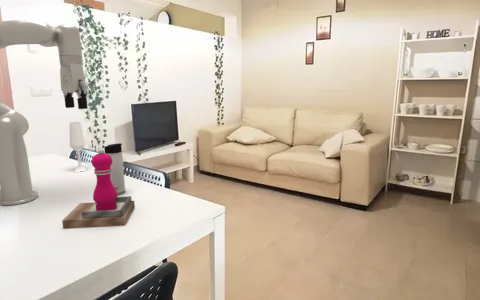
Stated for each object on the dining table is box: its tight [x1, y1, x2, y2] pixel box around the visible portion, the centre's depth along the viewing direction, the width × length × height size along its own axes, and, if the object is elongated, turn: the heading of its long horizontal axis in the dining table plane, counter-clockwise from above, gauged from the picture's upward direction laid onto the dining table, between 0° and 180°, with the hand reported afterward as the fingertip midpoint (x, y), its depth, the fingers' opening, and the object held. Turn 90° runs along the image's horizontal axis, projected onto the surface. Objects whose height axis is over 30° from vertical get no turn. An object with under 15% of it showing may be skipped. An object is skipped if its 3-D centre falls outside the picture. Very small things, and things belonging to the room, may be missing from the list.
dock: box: [61, 195, 135, 229], centre depth 102 cm, size 18×14×4 cm
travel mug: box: [103, 142, 126, 196], centre depth 123 cm, size 6×7×20 cm
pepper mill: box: [91, 148, 118, 211], centre depth 100 cm, size 7×7×20 cm
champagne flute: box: [69, 121, 88, 173], centre depth 154 cm, size 7×7×24 cm
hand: (76, 108), depth 119 cm, fingers open, 9 cm apart
